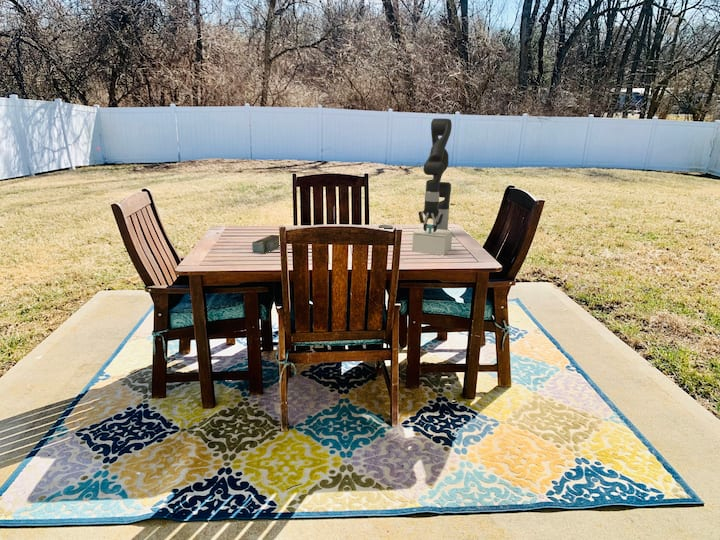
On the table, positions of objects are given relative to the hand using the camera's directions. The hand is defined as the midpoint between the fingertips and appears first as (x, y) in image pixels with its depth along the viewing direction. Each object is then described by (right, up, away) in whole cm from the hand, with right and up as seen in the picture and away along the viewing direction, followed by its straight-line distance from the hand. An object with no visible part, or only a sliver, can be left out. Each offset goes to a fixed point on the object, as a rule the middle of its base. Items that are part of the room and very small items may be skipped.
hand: (429, 231), depth 272 cm
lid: (+2, 0, +6) cm, 6 cm away
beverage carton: (-89, -10, +5) cm, 89 cm away
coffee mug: (-22, -6, +22) cm, 32 cm away
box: (+2, -10, +9) cm, 14 cm away
